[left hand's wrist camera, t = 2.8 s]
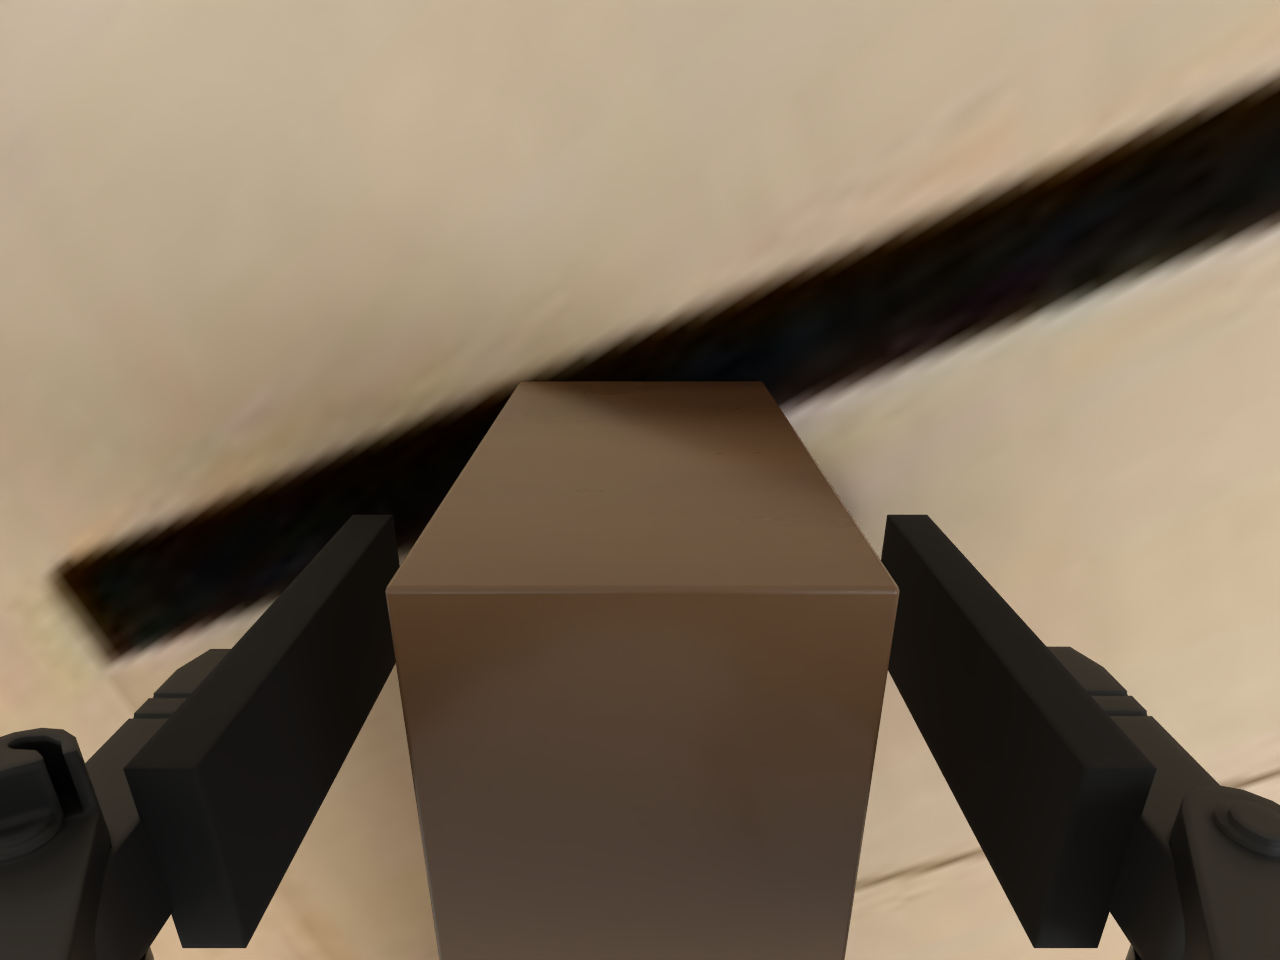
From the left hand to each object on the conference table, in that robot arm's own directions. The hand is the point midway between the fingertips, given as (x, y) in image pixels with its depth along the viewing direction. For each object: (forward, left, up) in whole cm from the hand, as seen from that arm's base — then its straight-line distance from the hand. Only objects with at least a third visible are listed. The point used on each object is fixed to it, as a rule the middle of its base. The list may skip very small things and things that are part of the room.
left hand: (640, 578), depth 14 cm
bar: (+10, +3, -1) cm, 10 cm away
